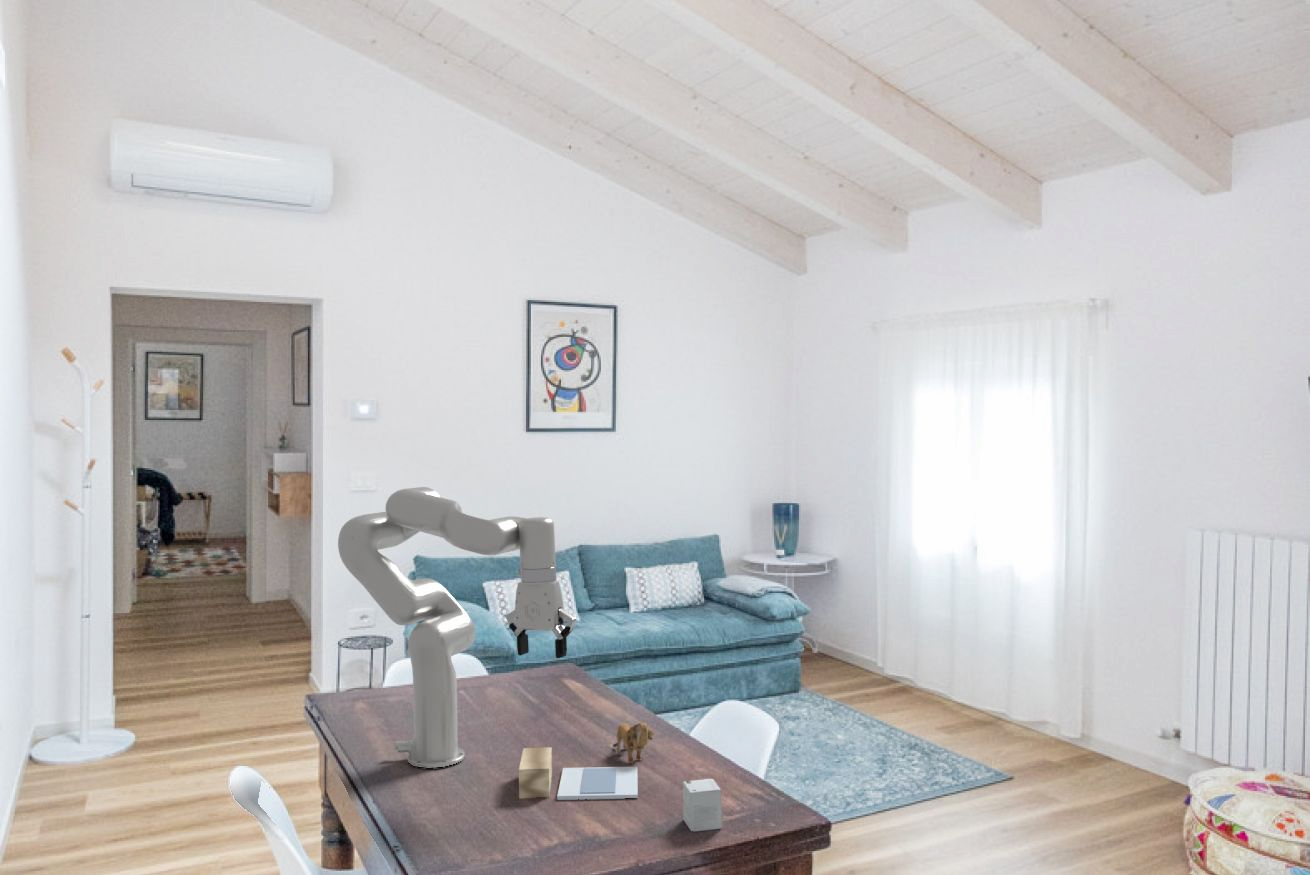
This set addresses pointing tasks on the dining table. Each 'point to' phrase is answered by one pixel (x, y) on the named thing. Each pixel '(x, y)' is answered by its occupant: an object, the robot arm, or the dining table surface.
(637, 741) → the lion figurine
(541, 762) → the oak block
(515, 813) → the dining table surface
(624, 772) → the board
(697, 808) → the skincare box
